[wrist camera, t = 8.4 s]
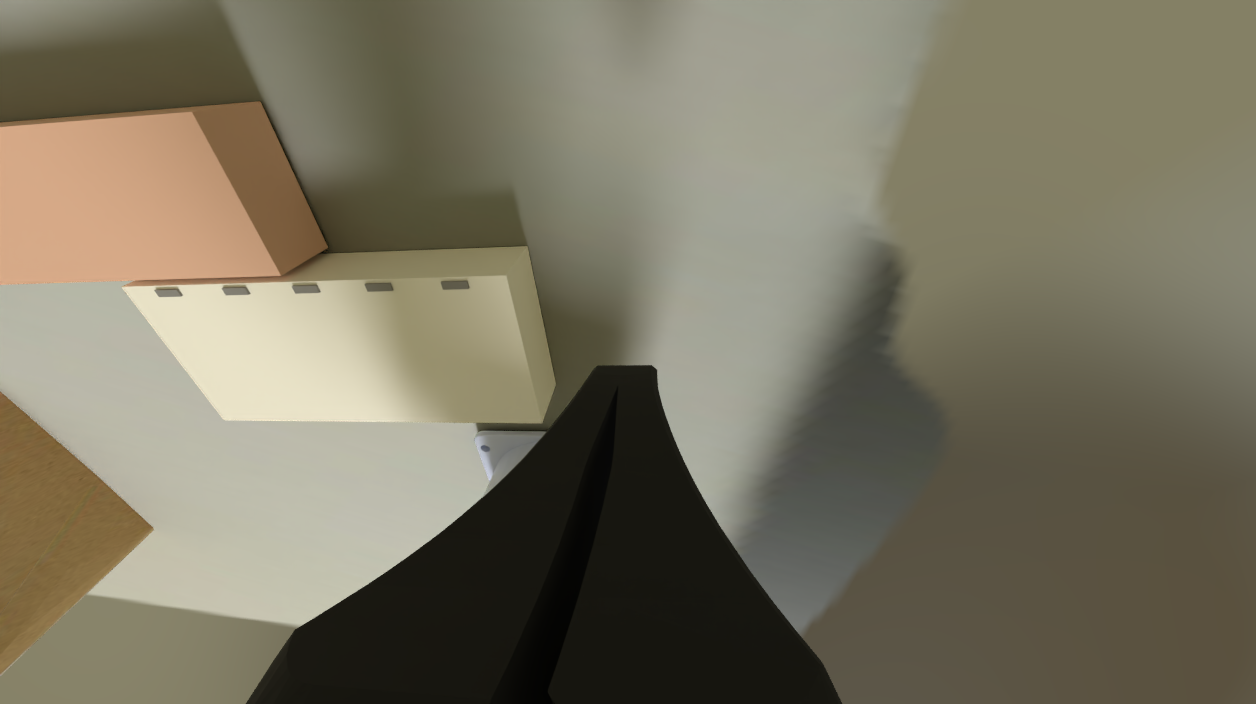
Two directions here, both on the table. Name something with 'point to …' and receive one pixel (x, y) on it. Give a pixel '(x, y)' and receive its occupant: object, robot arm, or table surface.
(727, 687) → the robot arm
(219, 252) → the block
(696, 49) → the table surface
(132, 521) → the sandwich container
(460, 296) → the board
